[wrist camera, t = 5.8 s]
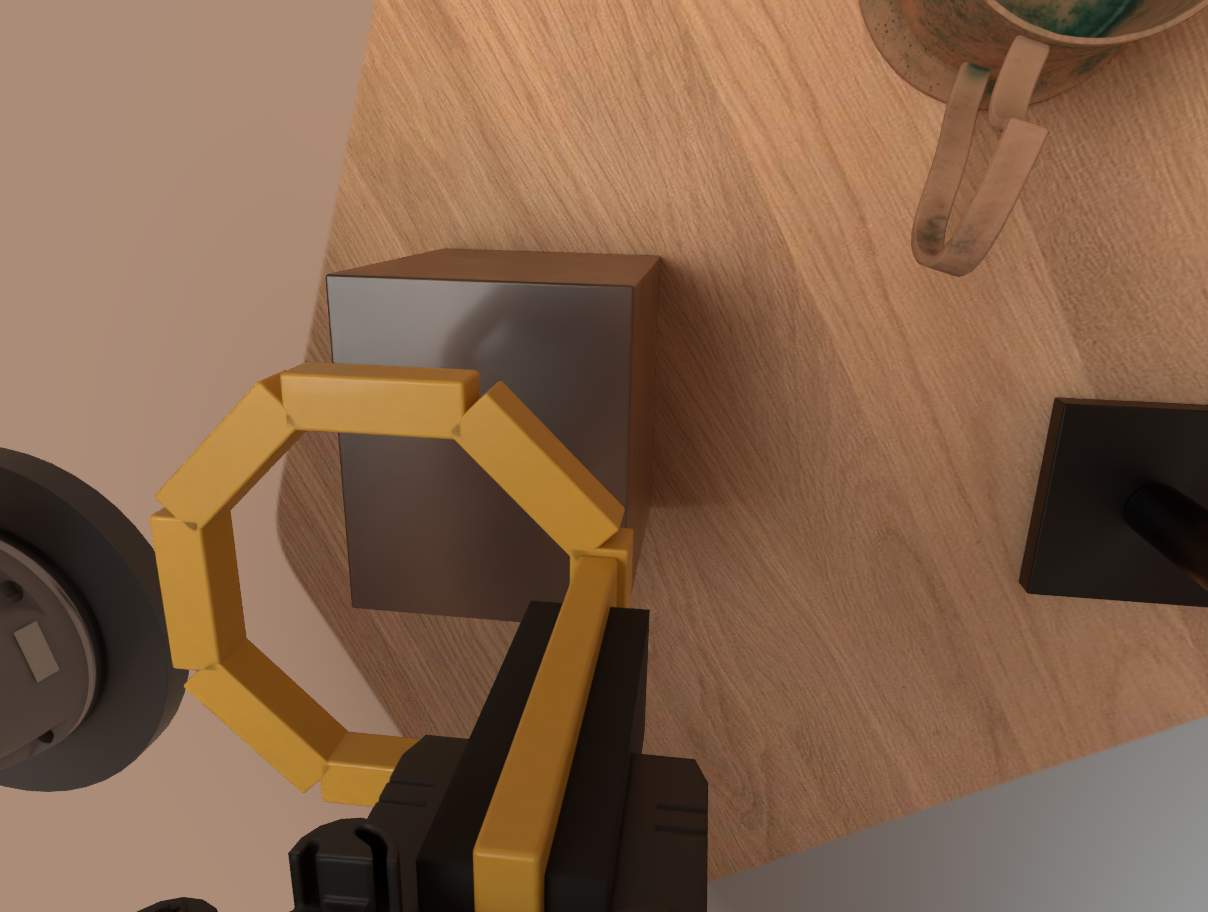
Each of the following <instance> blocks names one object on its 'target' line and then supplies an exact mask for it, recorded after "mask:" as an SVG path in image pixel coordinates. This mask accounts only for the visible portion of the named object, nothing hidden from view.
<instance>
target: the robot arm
mask: <svg viewBox="0 0 1208 912" xmlns="http://www.w3.org/2000/svg"><path fill="white" fill-rule="evenodd" d="M562 604H563V603H557V602H544V601H530V603H529V605H528V608H527V610H526V612H525V614H524V617H523V619H522V621H521V623H520V626H519V628H518V630H517V632H516V635H515V637H514V639H513V641H512V644H511V646H510V648H509V650H508V653H507V655H506V657H505V659H504V662H503V664H502V666H501V668H500V671H499V673H498V675H497V677H496V680H495V682H494V684H493V686H492V689H491V691H490V693H489V695H488V698H487V700H486V702H485V704H484V707H483V709H482V711H481V713H480V716H479V718H478V720H477V723H476V725H475V727H474V729H473V732H472V734H471V736H470V738H469V739H462V738H452V737H442V736H432V735H425V736H424V737H423V738H422V739H421V740H419V741H418V742H417V743H416V744H414V745H413V746H412V747H411V748H410V749H408V750H407V751H406V752H405V753H403V754H402V756H401V758H400V760H399V762H398V763H397V765H396V767H395V769H394V771H393V773H392V774H391V776H390V780H389V783H388V782H387V783H386V785H385V787H384V789H383V791H382V793H381V794H380V796H379V801H378V802H376V803H375V805H374V807H373V809H372V811H371V813H370V814H369V816H368V818H367V819H365V818H351V819H340V820H337V821H334V822H331V823H328V824H325V825H322V826H319V827H318V828H316V829H314V830H313V831H311V832H310V833H308V834H307V835H305V836H304V837H302V838H301V839H300V840H299V841H298V842H297V844H296V845H295V846H294V847H293V848H292V850H291V851H290V852H289V853H288V855H289V863H290V871H291V879H292V888H293V896H294V903H295V904H294V905H295V908H294V910H292V911H290V912H475V903H474V872H473V849H474V846H475V844H476V841H477V838H478V835H479V833H480V830H481V827H482V824H483V822H484V819H485V816H486V813H487V811H488V808H489V805H490V802H491V800H492V797H493V794H494V791H495V789H496V786H497V783H498V780H499V778H500V775H501V772H502V769H503V767H504V764H505V761H506V758H507V756H508V753H509V750H510V747H511V745H512V742H513V739H514V736H515V734H516V731H517V728H518V725H519V723H520V720H521V717H522V714H523V712H524V709H525V706H526V703H527V701H528V698H529V695H530V692H531V690H532V687H533V684H534V681H535V679H536V676H537V673H538V670H539V668H540V665H541V662H542V659H543V657H544V654H545V651H546V648H547V646H548V643H549V640H550V637H551V634H552V632H553V629H554V626H555V623H556V621H557V618H558V615H559V612H560V610H561V607H562ZM649 613H650V610H645V609H632V608H620V607H610V611H609V615H608V619H607V623H606V627H605V631H604V635H603V639H602V643H601V647H600V651H599V655H598V659H597V663H596V668H595V672H594V676H593V680H592V684H591V688H590V692H589V696H588V700H587V704H586V708H585V712H584V716H583V720H582V724H581V728H580V732H579V736H578V741H577V745H576V749H575V753H574V757H573V761H572V765H571V769H570V773H569V777H568V781H567V785H566V789H565V793H564V797H563V801H562V805H561V810H560V814H559V818H558V822H557V826H556V830H555V834H554V838H553V842H552V846H551V850H550V854H549V858H548V862H547V866H546V870H545V874H544V912H707V847H708V836H707V833H708V782H707V780H706V778H705V777H704V775H703V773H702V771H701V769H700V768H699V766H698V764H697V762H696V760H695V759H686V758H676V757H666V756H656V755H646V754H642V747H643V739H644V730H645V706H646V683H647V660H648V636H649ZM106 674H107V657H106V649H105V644H104V640H103V636H102V633H101V630H100V627H99V624H98V622H97V619H96V617H95V615H94V613H93V611H92V609H91V607H90V605H89V603H88V602H87V600H86V599H85V597H84V595H83V594H82V592H81V591H80V590H79V588H78V587H77V586H76V584H75V583H74V582H73V581H72V579H71V578H70V577H69V576H68V575H67V574H66V573H65V572H64V571H63V570H62V569H61V568H60V567H59V566H58V565H57V564H56V563H55V562H54V561H53V560H52V559H51V558H49V557H48V556H47V555H46V554H45V553H43V552H42V551H40V550H39V549H38V548H36V547H35V546H33V545H32V544H30V543H29V542H27V541H25V540H24V539H22V538H20V537H18V536H16V535H14V534H12V533H10V532H8V531H5V530H3V529H0V770H1V769H4V768H6V767H8V766H11V765H13V764H16V763H18V762H21V761H23V760H26V759H28V758H30V757H33V756H35V755H37V754H40V753H41V752H43V751H45V750H47V749H49V748H50V747H52V746H54V745H56V744H57V743H59V742H60V741H62V740H63V739H64V738H66V737H67V736H68V735H69V734H70V733H72V732H73V731H74V730H75V729H76V728H77V727H79V726H80V725H81V724H82V723H83V722H84V721H85V720H87V718H88V717H89V716H90V715H91V714H92V713H93V711H94V709H95V708H96V706H97V705H98V703H99V701H100V699H101V696H102V693H103V690H104V687H105V682H106ZM137 912H218V911H217V909H216V908H215V907H213V906H212V905H210V904H209V903H207V902H206V901H204V900H202V899H194V898H187V897H181V898H176V899H170V900H165V901H160V902H158V903H155V904H153V905H151V906H149V907H147V908H144V909H142V910H140V911H137Z"/></svg>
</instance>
